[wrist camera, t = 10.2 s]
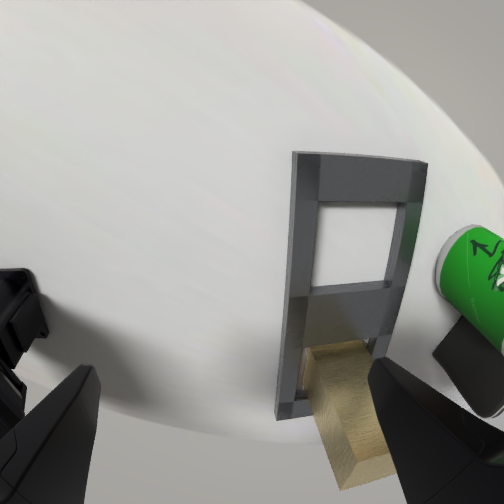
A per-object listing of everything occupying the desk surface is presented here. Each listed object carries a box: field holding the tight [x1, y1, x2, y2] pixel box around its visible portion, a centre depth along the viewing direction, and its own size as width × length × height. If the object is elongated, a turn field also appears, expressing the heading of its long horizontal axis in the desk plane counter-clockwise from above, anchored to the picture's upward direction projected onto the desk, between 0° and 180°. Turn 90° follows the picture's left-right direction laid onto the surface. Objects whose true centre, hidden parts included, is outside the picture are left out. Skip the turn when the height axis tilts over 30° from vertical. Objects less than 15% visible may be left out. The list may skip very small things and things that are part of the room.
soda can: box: [436, 225, 504, 356], centre depth 20 cm, size 8×8×12 cm
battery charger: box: [433, 316, 504, 419], centre depth 25 cm, size 7×4×11 cm, turn 148°
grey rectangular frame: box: [274, 151, 428, 421], centre depth 25 cm, size 10×25×1 cm, turn 179°
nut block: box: [302, 340, 397, 491], centre depth 22 cm, size 5×5×12 cm
